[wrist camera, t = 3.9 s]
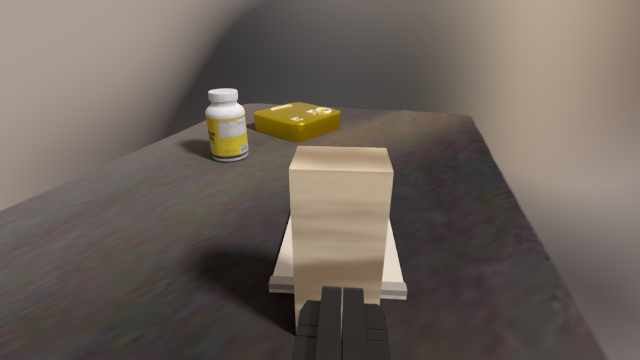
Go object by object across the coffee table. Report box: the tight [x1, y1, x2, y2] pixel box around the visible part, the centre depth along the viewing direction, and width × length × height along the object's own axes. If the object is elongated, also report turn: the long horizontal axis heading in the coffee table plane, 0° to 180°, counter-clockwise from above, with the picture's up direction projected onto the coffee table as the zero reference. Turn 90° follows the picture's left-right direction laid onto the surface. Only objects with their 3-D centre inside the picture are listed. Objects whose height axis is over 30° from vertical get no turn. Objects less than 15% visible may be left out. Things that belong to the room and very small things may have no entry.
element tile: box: [254, 102, 341, 142], centre depth 74 cm, size 15×15×5 cm
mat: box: [269, 215, 407, 300], centre depth 36 cm, size 18×12×1 cm, turn 176°
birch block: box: [289, 146, 394, 340], centre depth 23 cm, size 4×6×14 cm, turn 86°
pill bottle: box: [206, 89, 249, 162], centre depth 56 cm, size 6×6×12 cm
